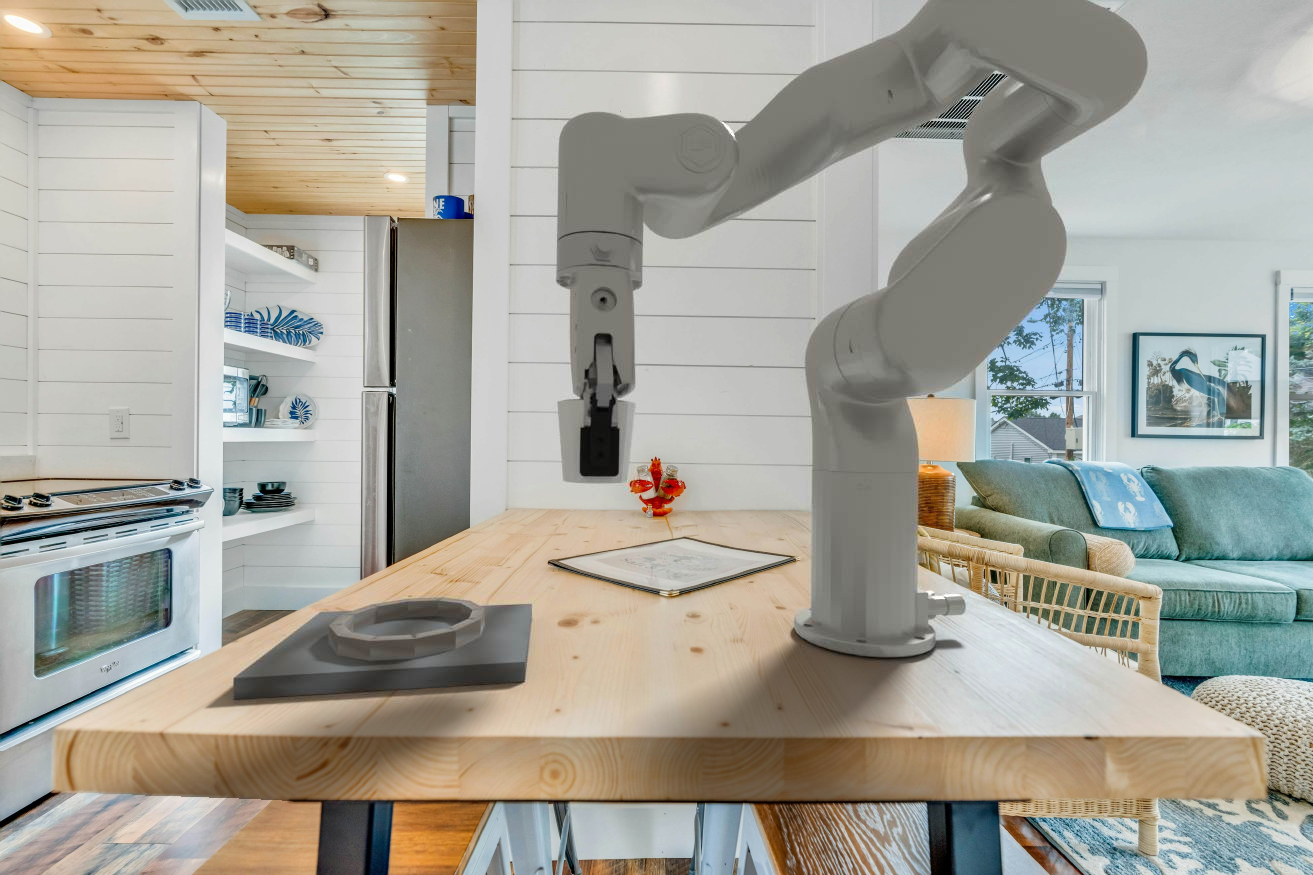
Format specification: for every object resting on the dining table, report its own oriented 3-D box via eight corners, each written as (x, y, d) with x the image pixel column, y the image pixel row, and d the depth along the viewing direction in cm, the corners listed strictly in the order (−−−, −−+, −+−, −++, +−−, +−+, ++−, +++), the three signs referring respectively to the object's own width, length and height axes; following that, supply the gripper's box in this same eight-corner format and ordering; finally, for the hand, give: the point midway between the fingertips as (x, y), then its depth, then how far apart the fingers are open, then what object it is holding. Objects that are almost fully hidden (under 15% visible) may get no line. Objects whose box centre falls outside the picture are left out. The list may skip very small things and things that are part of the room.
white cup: (623, 485, 48) (625, 398, 48) (543, 482, 50) (545, 398, 50) (642, 479, 55) (643, 403, 55) (571, 477, 56) (572, 403, 56)
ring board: (531, 618, 61) (532, 588, 61) (524, 681, 45) (525, 641, 45) (320, 627, 58) (320, 596, 58) (233, 699, 42) (233, 656, 42)
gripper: (659, 239, 45) (655, 481, 45) (629, 293, 62) (626, 469, 61) (557, 231, 43) (553, 480, 43) (555, 288, 60) (552, 468, 60)
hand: (596, 471), depth 52 cm, fingers closed on white cup, 5 cm apart
